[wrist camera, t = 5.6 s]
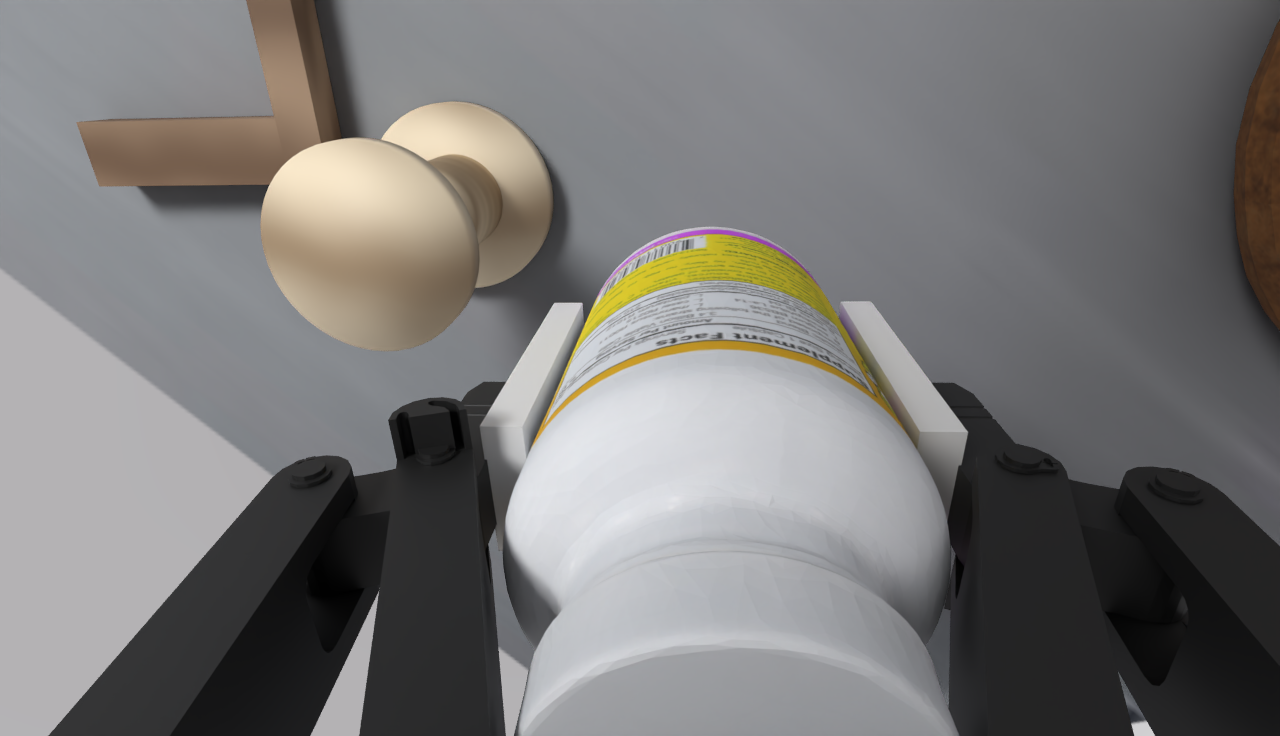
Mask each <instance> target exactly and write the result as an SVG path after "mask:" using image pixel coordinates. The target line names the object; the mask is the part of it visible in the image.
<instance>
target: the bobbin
mask: <svg viewBox="0 0 1280 736" xmlns="http://www.w3.org/2000/svg"><path fill="white" fill-rule="evenodd" d="M553 208H554V198H553V189H552V183H551V179H550V175H549V172H548V169H547V167H546V164H545V162H544V159H543V158H542V156H541V154H540V152H539V150H538V149H537V147H536V146H535V144H534V143H533V142H532V140H531V139H530V138H529V137H528V136H527V134H526V133H525V132H524V131H523V130H522V129H521V128H520V127H519V126H517V125H516V124H515V123H514V122H513V121H511V120H510V119H508V118H507V117H505V116H504V115H502V114H501V113H499V112H497V111H495V110H492V109H490V108H488V107H485V106H482V105H479V104H474V103H469V102H458V101H452V102H442V103H435V104H430V105H426V106H422V107H420V108H417V109H415V110H412V111H410V112H409V113H407V114H406V115H404V116H402V117H401V118H400V119H398V120H397V121H396V122H395V123H394V124H393V125H392V126H391V127H390V128H389V129H388V130H387V132H386V133H385V134H384V136H383V137H382V139H381V140H379V139H374V138H361V137H355V138H344V139H339V140H334V141H329V142H325V143H321V144H317V145H314V146H312V147H309V148H307V149H305V150H303V151H301V152H299V153H298V154H296V155H295V156H293V157H292V158H291V159H290V160H288V161H287V162H286V163H285V164H284V165H283V166H282V167H281V168H280V170H279V171H278V172H277V174H276V175H275V176H274V178H273V180H272V182H271V183H270V185H269V187H268V190H267V192H266V195H265V198H264V202H263V206H262V211H261V238H262V244H263V249H264V253H265V257H266V260H267V263H268V266H269V268H270V270H271V272H272V275H273V277H274V279H275V281H276V282H277V284H278V286H279V287H280V289H281V291H282V292H283V294H284V295H285V296H286V298H287V299H288V300H289V302H290V303H291V304H292V305H293V306H294V307H295V308H296V309H297V311H298V312H299V313H300V314H301V315H302V316H304V317H305V318H306V319H307V320H308V321H309V322H310V323H312V324H313V325H314V326H316V327H317V328H319V329H320V330H321V331H323V332H325V333H326V334H328V335H330V336H332V337H333V338H335V339H337V340H340V341H342V342H344V343H347V344H349V345H353V346H356V347H359V348H364V349H369V350H375V351H399V350H404V349H410V348H413V347H416V346H419V345H422V344H424V343H426V342H428V341H430V340H432V339H433V338H435V337H436V336H438V335H439V334H440V333H442V332H443V331H444V330H445V329H446V328H447V327H448V326H449V325H450V324H451V323H452V322H453V321H454V320H455V319H456V318H457V317H458V316H459V315H460V313H461V312H462V311H463V310H464V308H465V307H466V306H467V304H468V302H469V300H470V298H471V296H472V294H473V292H474V289H475V288H480V287H486V286H491V285H495V284H498V283H500V282H503V281H505V280H507V279H509V278H511V277H512V276H514V275H515V274H517V273H518V272H520V271H521V270H522V269H523V268H524V267H525V266H526V265H527V264H528V263H529V262H530V261H531V260H532V258H533V257H534V256H535V255H536V254H537V252H538V251H539V250H540V248H541V247H542V245H543V243H544V241H545V240H546V237H547V235H548V232H549V230H550V226H551V222H552V217H553Z"/></svg>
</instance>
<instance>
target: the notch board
mask: <svg viewBox="0 0 1280 736" xmlns="http://www.w3.org/2000/svg"><path fill="white" fill-rule="evenodd" d="M246 1H247V5H248V10H249V14H250V18H251V22H252V26H253V30H254V35H255V39H256V43H257V47H258V51H259V55H260V60H261V64H262V68H263V72H264V76H265V80H266V85H267V89H268V93H269V97H270V101H271V105H272V109H273V114H274V116H251V117H200V118H150V119H108V120H97V121H85V122H76V123H77V125H78V128H79V131H80V134H81V136H82V139H83V142H84V145H85V148H86V150H87V153H88V156H89V159H90V161H91V164H92V167H93V170H94V173H95V175H96V178H97V181H98V184H99V186H179V185H270V183H271V182H272V180H273V178H274V176H275V175H276V174H277V172H278V171H279V170H280V168H281V167H282V166H283V165H284V164H285V163H286V162H287V161H288V160H290V159H291V158H292V157H293V156H295V155H296V154H298V153H299V152H301V151H303V150H305V149H307V148H309V147H312V146H314V145H317V144H321V143H325V142H329V141H334V140H339V139H342V137H341V132H340V127H339V122H338V117H337V112H336V107H335V102H334V97H333V92H332V87H331V82H330V77H329V73H328V68H327V63H326V58H325V53H324V48H323V43H322V38H321V33H320V28H319V23H318V18H317V13H316V8H315V3H314V0H246Z"/></svg>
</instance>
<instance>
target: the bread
mask: <svg viewBox="0 0 1280 736" xmlns="http://www.w3.org/2000/svg"><path fill="white" fill-rule="evenodd" d="M1234 204H1235V217H1236V230H1237V238H1238V243H1239V247H1240V251H1241V255H1242V260H1243V264H1244V268H1245V272H1246V276H1247V278H1248V280H1249V282H1250V284H1251V286H1252V288H1253V290H1254V292H1255V294H1256V296H1257V298H1258V300H1259V302H1260V304H1261V306H1262V308H1263V310H1264V311H1265V313H1266V314H1267V315H1268V316H1269V318H1270V319H1271V320H1272V322H1273V323H1274V324H1275V325H1276V327H1277V328H1278V329H1279V331H1280V20H1279V22H1278V23H1277V25H1276V28H1275V30H1274V32H1273V35H1272V37H1271V39H1270V42H1269V44H1268V47H1267V49H1266V51H1265V54H1264V56H1263V58H1262V61H1261V63H1260V65H1259V68H1258V70H1257V72H1256V75H1255V77H1254V79H1253V82H1252V84H1251V86H1250V89H1249V93H1248V97H1247V101H1246V106H1245V110H1244V114H1243V118H1242V122H1241V126H1240V131H1239V135H1238V139H1237V143H1236V157H1235V177H1234Z"/></svg>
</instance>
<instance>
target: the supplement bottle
mask: <svg viewBox="0 0 1280 736" xmlns="http://www.w3.org/2000/svg"><path fill="white" fill-rule="evenodd" d="M503 565H504V573H505V579H506V585H507V591H508V594H509V597H510V600H511V603H512V606H513V609H514V612H515V615H516V617H517V620H518V622H519V624H520V626H521V629H522V630H523V632H524V634H525V636H526V637H527V639H528V641H529V643H530V644H531V646H532V647H533V649H534V651H535V653H534V656H533V659H532V663H531V666H530V669H529V672H528V677H527V682H526V688H525V692H524V697H523V701H522V705H521V710H520V713H519V717H518V721H517V726H516V730H515V734H514V736H959V733H958V731H957V728H956V726H955V723H954V721H953V718H952V716H951V713H950V711H949V708H948V706H947V703H946V701H945V698H944V696H943V693H942V690H941V687H940V684H939V680H938V676H937V673H936V670H935V667H934V664H933V661H932V659H931V657H930V655H929V653H928V651H927V649H926V647H925V646H926V644H927V643H928V641H929V640H930V638H931V636H932V634H933V632H934V630H935V628H936V626H937V624H938V621H939V618H940V615H941V612H942V609H943V606H944V603H945V599H946V595H947V591H948V586H949V580H950V565H951V546H950V536H949V530H948V524H947V518H946V514H945V510H944V506H943V503H942V500H941V498H940V495H939V492H938V489H937V487H936V485H935V482H934V480H933V478H932V476H931V474H930V472H929V470H928V468H927V467H926V465H925V463H924V461H923V460H922V458H921V456H920V454H919V452H918V450H917V449H916V447H915V445H914V444H913V442H912V440H911V439H910V437H909V435H908V434H907V432H906V431H905V429H904V427H903V426H902V424H901V422H900V421H899V419H898V418H897V416H896V414H895V413H894V411H893V409H892V407H891V406H890V404H889V402H888V401H887V399H886V398H885V396H884V394H883V392H882V391H881V389H880V387H879V386H878V384H877V382H876V381H875V379H874V377H873V376H872V374H871V372H870V371H869V369H868V367H867V366H866V364H865V362H864V360H863V359H862V357H861V355H860V354H859V352H858V350H857V349H856V347H855V345H854V343H853V342H852V340H851V338H850V337H849V335H848V333H847V331H846V329H845V328H844V326H843V325H842V323H841V321H840V320H839V318H838V316H837V314H836V313H835V311H834V310H833V308H832V306H831V305H830V303H829V301H828V299H827V298H826V296H825V295H824V293H823V292H822V290H821V288H820V287H819V285H818V284H817V282H816V281H815V279H814V278H813V277H812V275H811V274H810V273H809V271H808V270H807V269H806V268H805V267H804V266H803V265H802V264H801V263H800V262H799V261H798V260H797V259H796V258H795V257H794V256H793V255H791V254H790V253H789V252H788V251H786V250H785V249H783V248H782V247H780V246H779V245H777V244H775V243H773V242H772V241H770V240H768V239H766V238H763V237H761V236H759V235H756V234H753V233H750V232H746V231H741V230H736V229H731V228H724V227H699V228H691V229H685V230H681V231H677V232H673V233H670V234H667V235H665V236H662V237H660V238H658V239H655V240H653V241H652V242H650V243H648V244H646V245H645V246H643V247H641V248H640V249H638V250H637V251H635V252H634V253H633V254H631V255H630V256H629V257H628V258H627V259H626V260H624V261H623V262H622V263H621V264H620V265H619V266H618V267H617V268H616V270H615V271H614V272H613V273H612V274H611V276H610V277H609V278H608V280H607V281H606V282H605V284H604V286H603V287H602V289H601V291H600V293H599V294H598V296H597V299H596V301H595V303H594V305H593V307H592V310H591V312H590V314H589V317H588V319H587V321H586V323H585V326H584V328H583V330H582V333H581V335H580V337H579V339H578V342H577V344H576V346H575V349H574V351H573V353H572V356H571V358H570V360H569V363H568V365H567V367H566V369H565V372H564V374H563V376H562V379H561V381H560V384H559V386H558V388H557V391H556V393H555V395H554V398H553V400H552V402H551V405H550V407H549V409H548V411H547V413H546V416H545V418H544V420H543V422H542V425H541V427H540V429H539V431H538V433H537V436H536V438H535V440H534V442H533V445H532V447H531V450H530V452H529V454H528V457H527V459H526V461H525V464H524V466H523V468H522V471H521V473H520V475H519V478H518V480H517V482H516V484H515V487H514V490H513V493H512V496H511V499H510V502H509V506H508V510H507V514H506V519H505V527H504V535H503Z"/></svg>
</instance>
